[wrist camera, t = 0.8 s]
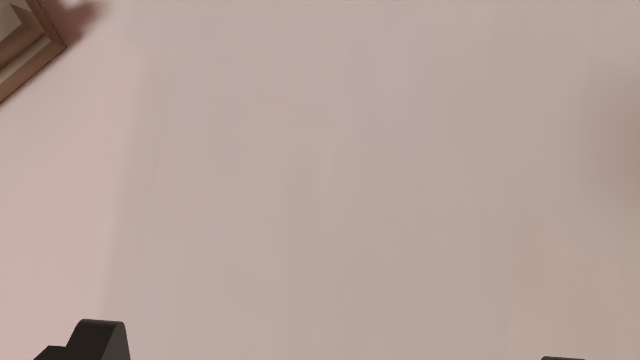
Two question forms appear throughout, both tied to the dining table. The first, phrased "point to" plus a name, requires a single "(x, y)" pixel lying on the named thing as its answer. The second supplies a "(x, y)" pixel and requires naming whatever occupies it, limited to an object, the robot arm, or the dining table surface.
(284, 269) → the dining table surface
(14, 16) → the shallow brown tray
